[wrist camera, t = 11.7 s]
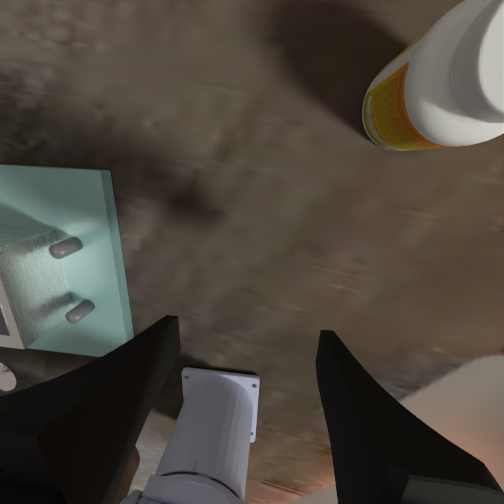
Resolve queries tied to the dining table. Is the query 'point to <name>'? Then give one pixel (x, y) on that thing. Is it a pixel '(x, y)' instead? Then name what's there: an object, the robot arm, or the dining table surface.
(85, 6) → the dining table surface
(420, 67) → the supplement bottle
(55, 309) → the block
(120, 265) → the pin tray
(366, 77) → the dining table surface
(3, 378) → the wineglass
